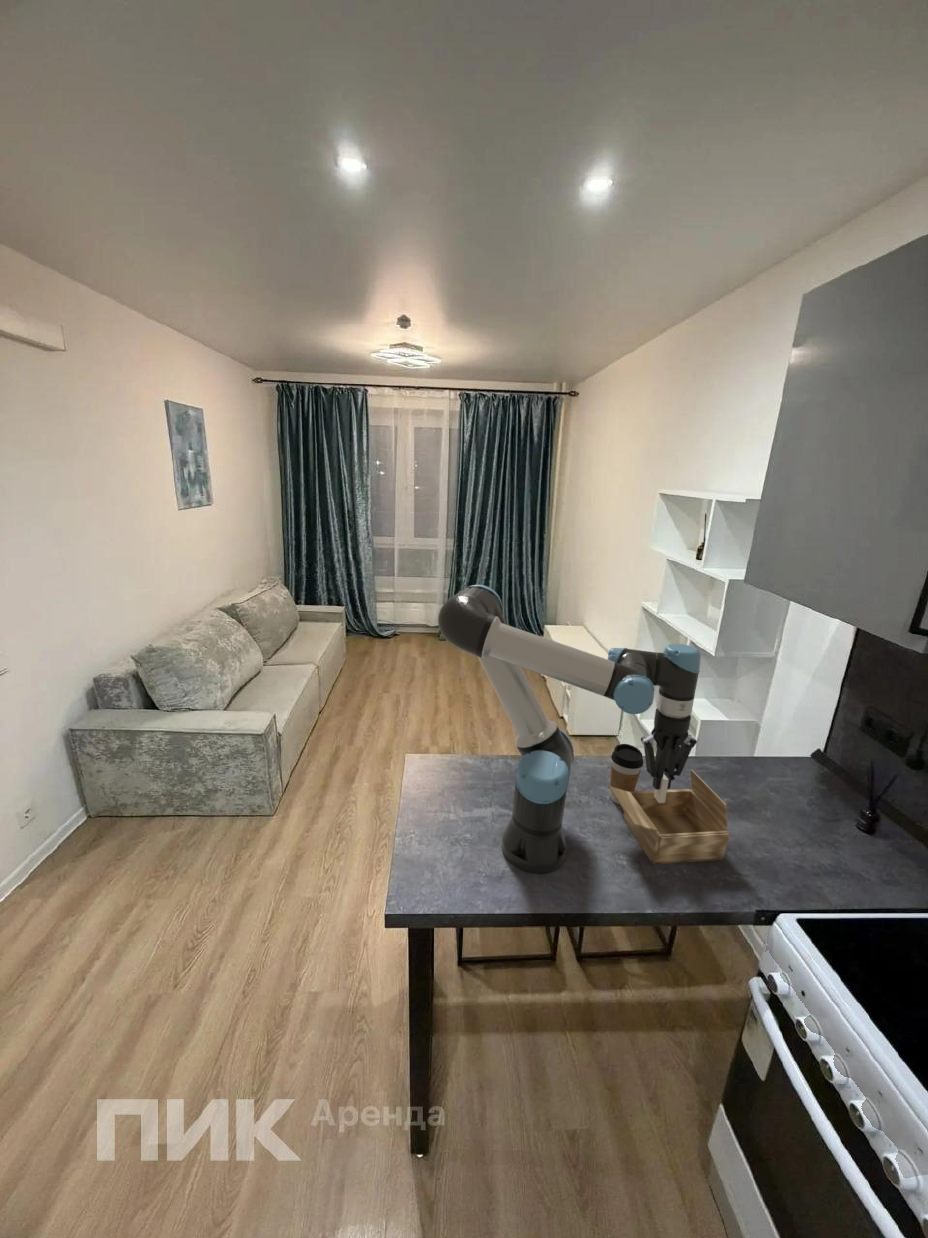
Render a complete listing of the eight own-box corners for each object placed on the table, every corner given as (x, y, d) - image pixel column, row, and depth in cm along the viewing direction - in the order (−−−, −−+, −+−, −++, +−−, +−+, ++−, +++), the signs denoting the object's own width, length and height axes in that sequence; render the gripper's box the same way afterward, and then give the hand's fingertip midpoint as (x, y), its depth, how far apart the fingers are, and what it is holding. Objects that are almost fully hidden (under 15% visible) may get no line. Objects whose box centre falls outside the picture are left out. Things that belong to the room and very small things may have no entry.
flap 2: (725, 827, 118) (725, 805, 116) (691, 790, 131) (690, 769, 129) (727, 826, 118) (726, 804, 116) (693, 789, 131) (692, 769, 129)
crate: (653, 866, 116) (659, 837, 114) (622, 817, 132) (626, 791, 130) (724, 861, 119) (731, 833, 117) (684, 813, 135) (690, 788, 133)
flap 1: (657, 832, 115) (633, 825, 114) (629, 793, 128) (608, 787, 127) (657, 830, 115) (634, 823, 114) (630, 792, 128) (609, 785, 127)
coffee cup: (632, 790, 144) (640, 744, 139) (639, 809, 135) (648, 762, 131) (602, 787, 144) (610, 741, 140) (607, 806, 136) (615, 758, 132)
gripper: (654, 720, 109) (640, 811, 116) (709, 718, 111) (693, 808, 118) (638, 704, 117) (626, 791, 123) (691, 703, 118) (676, 788, 125)
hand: (659, 799), depth 121 cm, fingers closed
